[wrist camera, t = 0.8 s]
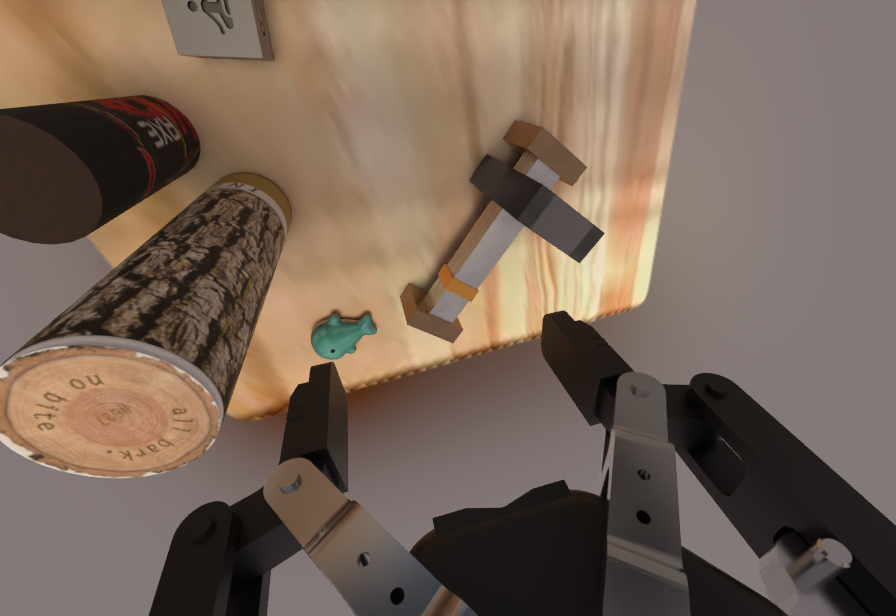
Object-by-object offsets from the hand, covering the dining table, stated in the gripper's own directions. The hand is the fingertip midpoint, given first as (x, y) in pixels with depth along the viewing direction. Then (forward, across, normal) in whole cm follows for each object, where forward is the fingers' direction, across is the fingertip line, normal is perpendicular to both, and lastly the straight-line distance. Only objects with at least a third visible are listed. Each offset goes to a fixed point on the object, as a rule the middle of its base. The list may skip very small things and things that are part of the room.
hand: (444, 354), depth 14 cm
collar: (+26, -12, +3) cm, 29 cm away
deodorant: (+26, +17, -6) cm, 32 cm away
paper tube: (+26, +12, +1) cm, 29 cm away
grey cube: (+27, +9, -13) cm, 31 cm away
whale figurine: (+26, +8, +16) cm, 32 cm away
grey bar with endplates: (+26, -9, +7) cm, 28 cm away
